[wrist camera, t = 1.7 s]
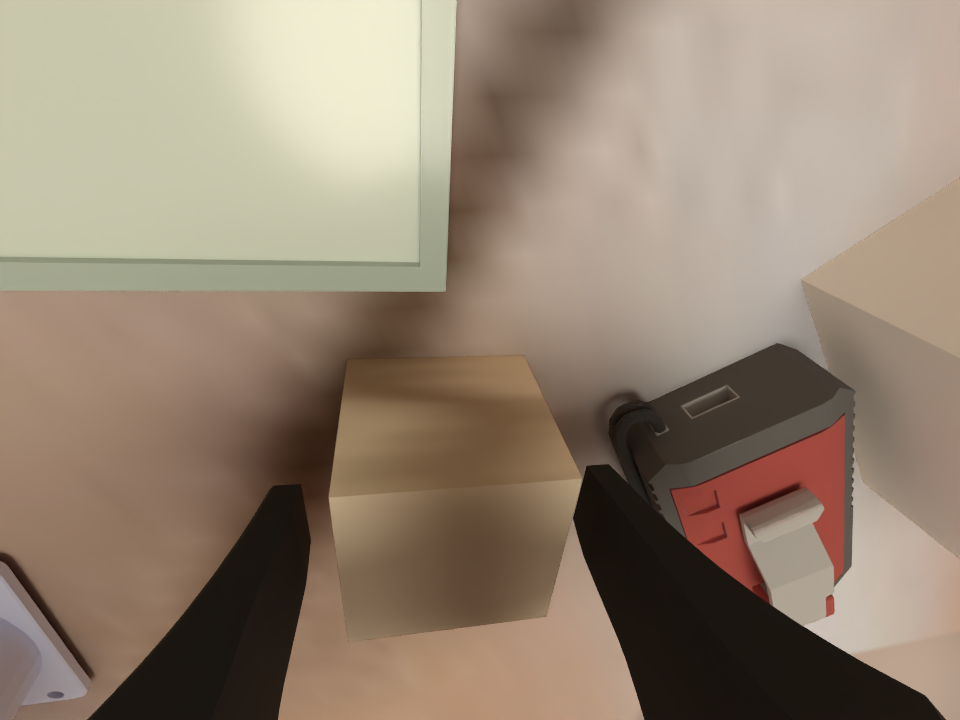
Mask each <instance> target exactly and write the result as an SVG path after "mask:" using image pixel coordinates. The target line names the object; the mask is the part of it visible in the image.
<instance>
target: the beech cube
mask: <svg viewBox="0 0 960 720" xmlns="http://www.w3.org/2000/svg"><path fill="white" fill-rule="evenodd" d="M581 482H582V477H581V475H580V473H579V471H578V469H577V467H576V464H575V462H574V460H573V458H572V456H571V454H570V452H569V450H568V448H567V445H566V443H565V441H564V439H563V437H562V435H561V433H560V431H559V429H558V426H557V424H556V422H555V420H554V418H553V416H552V414H551V412H550V410H549V407H548V405H547V403H546V401H545V399H544V397H543V395H542V393H541V391H540V388H539V386H538V384H537V382H536V380H535V378H534V376H533V374H532V372H531V369H530V367H529V365H528V363H527V361H526V359H525V357H524V355H513V356H467V357H421V358H376V359H347V365H346V373H345V380H344V387H343V395H342V402H341V409H340V417H339V424H338V432H337V439H336V446H335V454H334V461H333V468H332V476H331V483H330V491H329V505H330V512H331V520H332V527H333V535H334V542H335V550H336V557H337V564H338V572H339V579H340V587H341V594H342V602H343V609H344V617H345V624H346V632H347V639H348V642H354V641H362V640H370V639H378V638H385V637H393V636H401V635H409V634H416V633H424V632H432V631H440V630H448V629H455V628H463V627H471V626H479V625H486V624H494V623H502V622H510V621H518V620H525V619H533V618H541V617H546V616H547V612H548V608H549V604H550V601H551V597H552V593H553V589H554V585H555V582H556V578H557V574H558V570H559V566H560V562H561V559H562V555H563V551H564V547H565V543H566V539H567V536H568V532H569V528H570V524H571V520H572V517H573V513H574V509H575V505H576V501H577V497H578V494H579V490H580V486H581Z"/></svg>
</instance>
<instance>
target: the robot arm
mask: <svg viewBox="0 0 960 720" xmlns="http://www.w3.org/2000/svg"><path fill="white" fill-rule="evenodd" d="M573 520H574V523H575V527H576V531H577V535H578V538H579V542H580V545H581V549H582V552H583V555H584V558H585V560H586V563H587V565H588V568H589V570H590V573H591V575H592V578H593V580H594V583H595V585H596V587H597V590H598V592H599V595H600V597H601V599H602V602H603V604H604V606H605V609H606V611H607V614H608V616H609V618H610V621H611V623H612V626H613V628H614V630H615V633H616V635H617V637H618V640H619V643H620V645H621V648H622V651H623V653H624V656H625V659H626V662H627V665H628V668H629V671H630V674H631V677H632V681H633V684H634V687H635V690H636V693H637V696H638V700H639V703H640V706H641V710H642V713H643V716H644V720H946V719H945V718H944V717H943V716H942V715H941V713H940V712H939V711H938V710H937V709H936V708H935V706H934V705H933V704H932V703H931V702H930V701H929V699H928V698H927V697H926V696H925V695H923V694H921V693H919V692H918V691H916V690H914V689H912V688H910V687H908V686H906V685H904V684H903V683H901V682H899V681H897V680H895V679H893V678H891V677H889V676H887V675H886V674H884V673H882V672H880V671H878V670H876V669H875V668H873V667H871V666H869V665H867V664H865V663H863V662H861V661H860V660H858V659H856V658H855V657H853V656H851V655H850V654H848V653H846V652H845V651H843V650H841V649H839V648H838V647H836V646H834V645H833V644H831V643H829V642H828V641H826V640H824V639H823V638H821V637H819V636H818V635H816V634H815V633H813V632H811V631H810V630H808V629H807V628H805V627H803V626H802V625H800V624H799V623H797V622H796V621H794V620H793V619H791V618H790V617H788V616H787V615H785V614H784V613H782V612H781V611H779V610H778V609H776V608H775V607H773V606H772V605H770V604H769V603H767V602H766V601H765V600H763V599H762V598H760V597H759V596H758V595H756V594H755V593H753V592H752V591H751V590H749V589H748V588H747V587H745V586H744V585H743V584H741V583H740V582H739V581H737V580H736V579H735V578H733V577H732V576H731V575H729V574H728V573H727V572H725V571H724V570H723V569H722V568H720V567H719V566H718V565H717V564H715V563H714V562H713V561H712V560H711V559H709V558H708V557H707V556H706V555H705V554H703V553H702V552H701V551H700V550H699V549H698V548H696V547H695V546H694V545H693V544H692V543H691V542H689V541H688V540H687V539H686V538H685V537H684V536H683V535H682V534H680V533H679V532H678V531H677V530H676V529H675V528H674V527H673V526H672V525H670V524H669V523H668V522H667V521H666V520H665V519H664V518H663V517H662V516H661V515H660V514H659V513H658V512H657V511H656V510H655V509H654V508H652V507H651V506H650V505H649V504H648V503H647V502H646V501H645V500H644V499H643V498H642V497H641V496H640V495H639V494H638V493H637V492H636V491H635V490H634V489H633V488H632V487H631V486H630V485H629V484H628V483H627V482H626V481H625V480H624V479H623V478H622V477H621V476H620V475H619V474H618V473H617V472H616V471H615V470H614V469H613V468H612V467H611V466H610V465H609V464H606V465H591V466H587V467H586V471H585V475H584V479H583V482H582V486H581V490H580V494H579V498H578V501H577V505H576V509H575V513H574V517H573ZM310 544H311V538H310V533H309V527H308V522H307V516H306V510H305V505H304V499H303V493H302V488H301V484H296V485H280V486H273V487H272V488H271V489H270V490H269V491H268V493H267V495H266V497H265V498H264V500H263V502H262V503H261V505H260V507H259V508H258V510H257V512H256V513H255V515H254V516H253V518H252V519H251V521H250V523H249V524H248V526H247V527H246V529H245V530H244V532H243V533H242V535H241V536H240V538H239V539H238V541H237V542H236V544H235V545H234V547H233V548H232V549H231V551H230V552H229V554H228V555H227V557H226V558H225V559H224V561H223V562H222V564H221V565H220V567H219V568H218V569H217V571H216V572H215V573H214V575H213V576H212V577H211V579H210V580H209V581H208V583H207V584H206V585H205V587H204V588H203V589H202V590H201V592H200V593H199V594H198V596H197V597H196V598H195V600H194V601H193V602H192V603H191V605H190V606H189V607H188V609H187V610H186V611H185V612H184V614H183V615H182V616H181V617H180V619H179V620H178V621H177V622H176V623H175V625H174V626H173V627H172V628H171V629H170V631H169V632H168V633H167V634H166V635H165V636H164V638H163V639H162V640H161V641H160V642H159V643H158V645H157V646H156V647H155V648H154V649H153V650H152V651H151V653H150V654H149V655H148V656H147V657H146V658H145V659H144V660H143V662H142V663H141V664H140V665H139V666H138V667H137V668H136V669H135V670H134V671H133V672H132V673H131V674H130V676H129V677H128V678H127V679H126V680H125V681H124V682H123V683H122V684H121V685H120V686H119V687H118V688H117V689H116V691H115V692H114V693H113V694H112V695H111V696H110V697H109V698H108V699H107V700H106V701H105V702H104V703H103V704H102V705H101V706H100V707H99V708H98V709H97V710H96V711H95V712H94V713H93V714H92V715H91V716H90V717H89V718H88V719H87V720H278V715H279V708H280V702H281V697H282V691H283V686H284V681H285V677H286V672H287V668H288V663H289V659H290V654H291V650H292V645H293V641H294V637H295V632H296V628H297V623H298V619H299V614H300V609H301V605H302V600H303V596H304V591H305V586H306V580H307V572H308V563H309V553H310ZM90 685H91V680H90V679H89V677H88V676H87V675H86V673H85V672H84V670H83V669H82V668H81V666H80V665H79V664H78V662H77V661H76V659H75V658H74V657H73V655H72V654H71V652H70V651H69V650H68V648H67V647H66V646H65V644H64V643H63V641H62V640H61V639H60V637H59V636H58V634H57V633H56V632H55V630H54V629H53V628H52V626H51V625H50V623H49V622H48V621H47V619H46V618H45V617H44V615H43V614H42V612H41V611H40V610H39V608H38V607H37V605H36V604H35V603H34V601H33V600H32V599H31V597H30V596H29V594H28V593H27V592H26V590H25V589H24V587H23V586H22V585H21V583H20V582H19V581H18V579H17V578H16V576H15V575H14V574H13V572H12V571H11V569H10V568H9V567H8V566H7V565H6V564H5V563H4V562H2V561H0V720H13V719H14V717H15V715H16V713H17V712H18V710H19V708H20V706H24V705H32V704H39V703H47V702H54V701H62V700H69V699H76V698H80V697H82V696H84V695H86V693H87V692H88V690H89V688H90Z"/></svg>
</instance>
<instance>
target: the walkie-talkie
mask: <svg viewBox="0 0 960 720" xmlns="http://www.w3.org/2000/svg"><path fill="white" fill-rule="evenodd" d="M855 393H856V391H855V390H854V389H852V388H851V387H849V386H848V385H846V384H845V383H844V382H842V381H841V380H839V379H838V378H836V377H835V376H833V375H832V374H831V373H829V372H828V371H826V370H825V369H823V368H822V367H821V366H819V365H818V364H816V363H815V362H813V361H812V360H811V359H809V358H808V357H806V356H805V355H803V354H802V353H800V352H799V351H798V350H796V349H793V348H790V347H787V346H784V345H781V344H778V343H777V344H774V345H772V346H770V347H768V348H766V349H764V350H761V351H759V352H757V353H755V354H753V355H751V356H748V357H746V358H744V359H742V360H740V361H737V362H735V363H733V364H731V365H729V366H727V367H724V368H722V369H720V370H718V371H716V372H714V373H711V374H709V375H707V376H705V377H703V378H701V379H698V380H696V381H694V382H692V383H690V384H688V385H685V386H683V387H681V388H679V389H677V390H674V391H672V392H670V393H668V394H666V395H664V396H661V397H659V398H657V399H655V400H653V401H651V402H648V403H647V402H643V401H635V402H630V403H627V404H624V405H622V406H620V407H618V408H617V409H616V410H615V412H614V413H613V415H612V416H611V418H610V419H609V437H610V439H611V442H612V444H613V446H614V449H615V451H616V454H617V456H618V458H619V461H620V463H621V466H622V468H623V470H624V473H625V475H626V477H627V480H628V482H629V485H630V486H631V487H632V488H633V489H634V490H635V491H636V492H637V493H638V494H639V495H640V496H641V497H642V498H643V499H644V500H645V501H646V502H647V503H648V504H649V505H650V506H651V507H652V508H654V509H655V510H656V511H657V512H658V513H659V514H660V515H661V516H662V517H663V518H664V519H665V520H666V521H667V522H668V523H669V524H670V525H672V526H673V527H674V528H675V529H676V530H677V531H678V532H679V533H680V534H682V535H683V536H684V537H685V538H686V539H687V540H688V541H689V542H691V543H692V544H693V545H694V546H695V547H696V548H698V549H699V550H700V551H701V552H702V553H703V554H705V555H706V556H707V557H708V558H709V559H711V560H712V561H713V562H714V563H715V564H717V565H718V566H719V567H720V568H722V569H723V570H724V571H725V572H727V573H728V574H729V575H731V576H732V577H733V578H735V579H736V580H737V581H739V582H740V583H741V584H743V585H744V586H745V587H747V588H748V589H749V590H751V591H752V592H753V593H755V594H756V595H758V596H759V597H760V598H762V599H763V600H765V601H766V602H767V603H769V604H770V605H772V606H773V607H775V608H776V609H778V610H779V611H781V612H782V613H784V614H785V615H787V616H788V617H790V618H791V619H793V620H794V621H796V622H797V623H799V624H800V625H802V626H804V625H807V624H809V623H812V622H814V621H817V620H820V619H822V618H825V617H827V616H830V615H832V614H834V597H833V596H832V595H831V594H833V593H834V587H835V585H836V584H837V583H838V582H839V581H840V579H841V578H842V577H843V576H844V574H845V573H846V572H847V571H848V570H849V568H850V567H851V565H852V525H853V505H852V504H851V502H852V501H853V497H852V496H851V494H852V492H853V487H852V483H853V481H854V479H853V478H852V474H853V472H854V469H853V468H852V464H853V463H854V458H852V454H853V453H854V448H853V442H854V441H855V437H853V431H854V430H855V426H854V425H853V420H854V418H855V414H854V413H853V409H854V407H855V401H854V395H855Z"/></svg>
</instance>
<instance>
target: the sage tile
mask: <svg viewBox="0 0 960 720" xmlns="http://www.w3.org/2000/svg"><path fill="white" fill-rule="evenodd" d="M456 3H457V0H0V291H394V292H446V269H447V242H448V215H449V189H450V162H451V136H452V109H453V82H454V56H455V29H456Z"/></svg>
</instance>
